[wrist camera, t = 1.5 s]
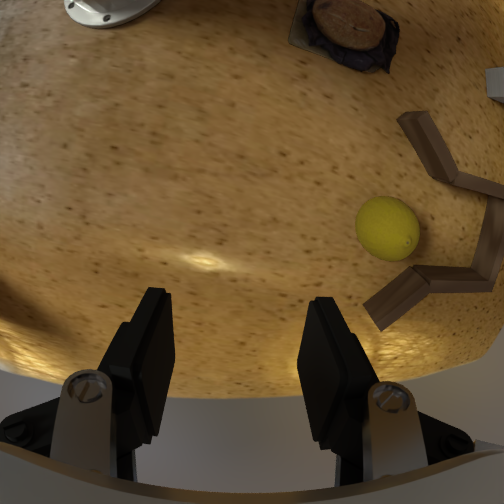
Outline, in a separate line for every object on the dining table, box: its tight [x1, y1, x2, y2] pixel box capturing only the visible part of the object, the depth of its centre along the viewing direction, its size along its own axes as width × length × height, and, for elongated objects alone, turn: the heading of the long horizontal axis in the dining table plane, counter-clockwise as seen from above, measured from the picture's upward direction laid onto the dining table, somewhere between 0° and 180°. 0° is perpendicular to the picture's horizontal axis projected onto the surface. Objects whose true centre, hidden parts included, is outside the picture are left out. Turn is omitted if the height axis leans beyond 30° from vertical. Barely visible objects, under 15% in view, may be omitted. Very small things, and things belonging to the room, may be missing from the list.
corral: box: [363, 111, 504, 332], centre depth 28 cm, size 22×17×4 cm
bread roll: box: [288, 0, 400, 74], centre depth 21 cm, size 11×8×4 cm
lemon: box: [355, 196, 420, 261], centre depth 25 cm, size 6×6×8 cm
